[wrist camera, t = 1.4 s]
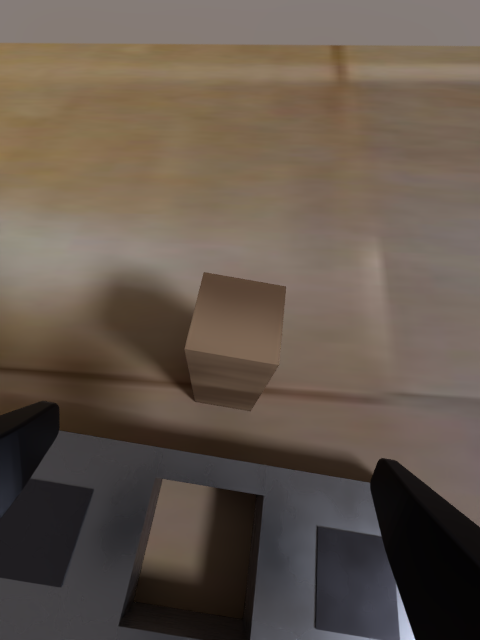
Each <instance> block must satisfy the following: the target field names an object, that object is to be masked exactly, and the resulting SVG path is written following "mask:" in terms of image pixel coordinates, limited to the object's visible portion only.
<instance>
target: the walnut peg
mask: <svg viewBox="0 0 480 640" xmlns="http://www.w3.org/2000/svg"><path fill="white" fill-rule="evenodd" d="M285 294H286V286H280V285H274V284H268V283H263V282H257V281H251V280H245V279H240V278H234V277H228V276H222V275H217V274H211V273H205V272H204V274H203V278H202V282H201V286H200V289H199V293H198V297H197V301H196V305H195V309H194V313H193V317H192V321H191V325H190V329H189V333H188V337H187V341H186V345H185V348H184V349H185V354H186V359H187V364H188V369H189V374H190V379H191V384H192V389H193V394H194V399H195V402H200V403H206V404H211V405H217V406H223V407H229V408H235V409H241V410H247V411H251V410H252V408H253V406H254V405H255V403H256V401H257V400H258V398H259V397H260V395H261V393H262V392H263V390H264V389H265V387H266V385H267V384H268V382H269V381H270V379H271V377H272V376H273V374H274V372H275V371H276V369H277V368H278V366H279V360H280V349H281V338H282V327H283V316H284V305H285Z"/></svg>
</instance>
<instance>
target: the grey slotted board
mask: <svg viewBox="0 0 480 640" xmlns="http://www.w3.org/2000/svg"><path fill="white" fill-rule="evenodd" d="M162 479H168V480H174V481H180V482H186V483H192V484H198V485H204V486H210V487H215V488H221V489H227V490H233V491H239V492H245V493H251V494H256V502H255V511H254V521H253V530H252V540H251V549H250V559H249V568H248V578H247V587H246V597H245V606H244V616H243V620H242V619H236V618H230V617H224V616H218V615H212V614H205V613H199V612H193V611H187V610H181V609H175V608H169V607H163V606H157V605H150V604H144V603H138V602H133V601H134V597H135V592H136V588H137V584H138V580H139V576H140V571H141V567H142V563H143V559H144V555H145V550H146V546H147V542H148V538H149V534H150V529H151V525H152V521H153V517H154V513H155V508H156V504H157V500H158V496H159V492H160V488H161V483H162ZM0 640H415V638H414V635H413V632H412V629H411V626H410V623H409V620H408V617H407V614H406V611H405V608H404V605H403V602H402V599H401V596H400V593H399V591H398V588H397V585H396V582H395V579H394V576H393V573H392V570H391V567H390V564H389V561H388V558H387V555H386V551H385V548H384V544H383V540H382V536H381V532H380V528H379V524H378V520H377V515H376V511H375V507H374V503H373V499H372V495H371V490H370V483H368V482H362V481H356V480H351V479H345V478H339V477H333V476H327V475H321V474H315V473H309V472H303V471H297V470H291V469H285V468H279V467H273V466H267V465H261V464H256V463H250V462H244V461H238V460H232V459H226V458H220V457H214V456H208V455H202V454H196V453H190V452H184V451H178V450H172V449H166V448H160V447H155V446H149V445H143V444H137V443H131V442H125V441H119V440H113V439H107V438H101V437H95V436H89V435H83V434H77V433H71V432H65V431H59V433H58V435H57V437H56V439H55V441H54V442H53V444H52V445H51V447H50V449H49V450H48V452H47V453H46V455H45V456H44V458H43V459H42V461H41V463H40V464H39V466H38V467H37V469H36V470H35V472H34V473H33V475H32V477H31V478H30V480H29V481H28V483H27V484H26V486H25V487H24V489H23V490H22V491H21V493H20V494H19V495H18V497H17V498H16V499H15V501H14V502H13V503H12V505H11V506H10V507H9V508H8V510H7V511H6V512H5V514H4V515H3V516H2V517H1V519H0Z"/></svg>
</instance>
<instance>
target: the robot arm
mask: <svg viewBox="0 0 480 640" xmlns="http://www.w3.org/2000/svg"><path fill="white" fill-rule="evenodd" d="M59 428H60V426H59V406H58V404H56V403H52V402H47V401H41V402H38V403H35V404H32V405H29V406H26V407H23V408H20V409H18V410H15V411H12V412H9V413H6V414H3V415H1V416H0V519H1V517H2V516H3V515H4V514H5V512H6V511H7V510H8V508H9V507H10V506H11V505H12V503H13V502H14V501H15V499H16V498H17V497H18V495H19V494H20V493H21V491H22V490H23V489H24V487H25V486H26V484H27V483H28V481H29V480H30V478H31V477H32V475H33V473H34V472H35V470H36V469H37V467H38V466H39V464H40V463H41V461H42V459H43V458H44V456H45V455H46V453H47V452H48V450H49V449H50V447H51V445H52V444H53V442H54V441H55V439H56V437H57V435H58V433H59ZM370 490H371V495H372V499H373V503H374V507H375V511H376V515H377V520H378V524H379V528H380V532H381V536H382V540H383V544H384V548H385V551H386V555H387V558H388V561H389V564H390V567H391V570H392V573H393V576H394V579H395V582H396V585H397V588H398V591H399V593H400V596H401V599H402V602H403V605H404V608H405V611H406V614H407V617H408V620H409V623H410V626H411V629H412V632H413V635H414V638H415V640H480V527H479V526H478V525H476V524H475V523H474V522H473V521H471V520H470V519H469V518H468V517H466V516H465V515H464V514H462V513H461V512H460V511H459V510H457V509H456V508H455V507H454V506H452V505H451V504H450V503H449V502H447V501H446V500H445V499H444V498H442V497H441V496H440V495H439V494H437V493H436V492H435V491H434V490H432V489H431V488H430V487H429V486H427V485H426V484H425V483H424V482H422V481H421V480H420V479H419V478H417V477H416V476H415V475H413V474H412V473H411V472H410V471H408V470H407V469H406V468H405V467H403V466H402V465H401V464H400V463H398V462H397V461H395V460H391V459H385V458H381V459H379V461H378V462H377V465H376V468H375V470H374V473H373V476H372V478H371V482H370Z"/></svg>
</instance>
